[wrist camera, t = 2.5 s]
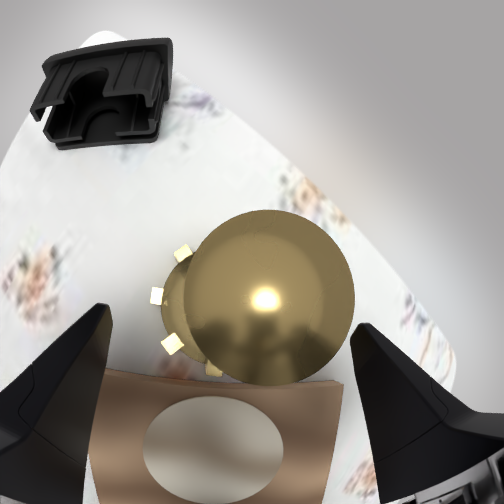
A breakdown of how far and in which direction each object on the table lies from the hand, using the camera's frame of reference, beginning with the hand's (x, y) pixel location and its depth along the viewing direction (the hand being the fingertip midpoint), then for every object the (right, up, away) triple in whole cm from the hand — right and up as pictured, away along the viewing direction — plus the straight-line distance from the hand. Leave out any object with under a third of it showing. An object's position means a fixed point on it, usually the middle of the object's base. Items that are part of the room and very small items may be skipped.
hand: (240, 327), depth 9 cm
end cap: (-11, +14, +10) cm, 21 cm away
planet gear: (-2, -1, +8) cm, 9 cm away
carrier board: (-3, -15, +5) cm, 16 cm away
